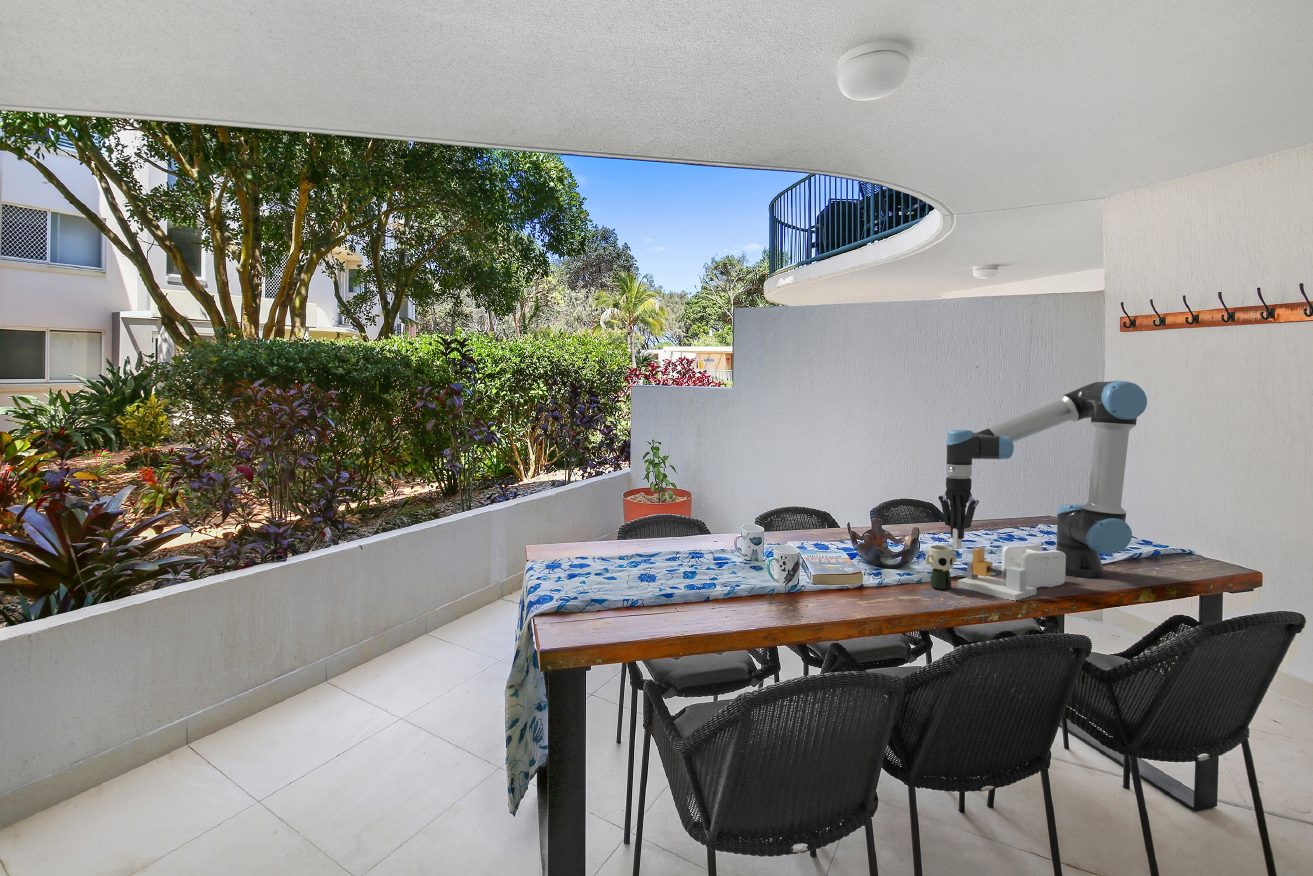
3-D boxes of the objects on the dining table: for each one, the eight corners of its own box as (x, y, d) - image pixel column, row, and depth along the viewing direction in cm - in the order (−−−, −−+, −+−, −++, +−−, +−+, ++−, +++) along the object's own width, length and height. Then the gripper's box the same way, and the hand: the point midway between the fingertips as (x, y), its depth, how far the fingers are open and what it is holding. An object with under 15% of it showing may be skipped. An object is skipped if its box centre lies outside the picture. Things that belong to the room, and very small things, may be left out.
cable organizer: (1040, 577, 207) (1041, 543, 206) (1066, 587, 196) (1067, 551, 196) (1000, 580, 204) (1001, 546, 203) (1025, 590, 194) (1026, 553, 193)
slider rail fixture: (979, 580, 205) (979, 555, 205) (1036, 594, 190) (1037, 567, 189) (957, 586, 199) (958, 561, 198) (1015, 601, 184) (1015, 574, 183)
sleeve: (979, 571, 201) (980, 547, 200) (992, 574, 197) (992, 549, 197) (972, 573, 199) (973, 549, 198) (984, 576, 195) (985, 551, 195)
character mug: (933, 592, 193) (933, 551, 192) (918, 586, 200) (918, 546, 199) (963, 589, 195) (964, 549, 194) (947, 583, 202) (948, 543, 201)
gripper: (933, 475, 207) (932, 545, 208) (971, 480, 196) (969, 553, 197) (947, 474, 211) (945, 542, 212) (984, 478, 200) (982, 550, 201)
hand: (957, 548), depth 205 cm, fingers closed
